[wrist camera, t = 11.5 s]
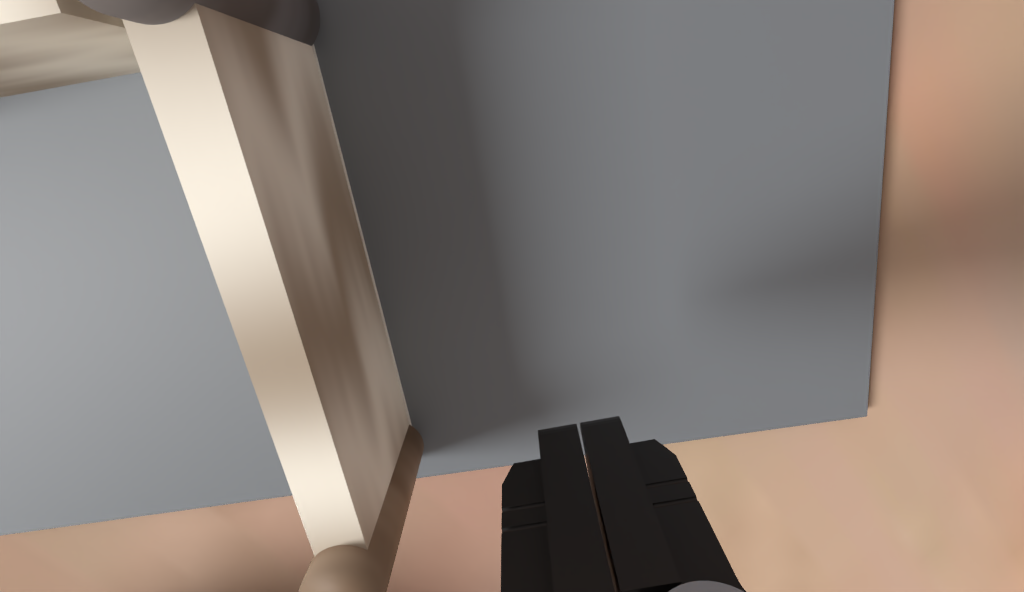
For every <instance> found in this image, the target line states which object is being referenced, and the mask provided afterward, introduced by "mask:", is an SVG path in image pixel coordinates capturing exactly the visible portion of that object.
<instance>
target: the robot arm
mask: <svg viewBox="0 0 1024 592" xmlns="http://www.w3.org/2000/svg"><path fill="white" fill-rule="evenodd" d="M580 428H581V434H582V440H583V446H584V451H585V457H586V463H587V467H586V463H585V458H584V454H583V450H582V445H581V441H580V436H579V432H578V428H577V424H570V425H565V426H559V427H553V428H547V429H542V430H538V439H539V449H540V459H536V460H530V461H524V462H518V463H514V464H513V466H512V467H511V469H510V471H509V473H508V475H507V477H506V479H505V480H504V482H503V484H502V542H501V592H746V591H745V590H744V589H743V587H742V586H741V584H740V583H739V581H738V579H737V577H736V575H735V573H734V571H733V569H732V567H731V565H730V563H729V561H728V559H727V557H726V555H725V553H724V551H723V549H722V547H721V545H720V543H719V541H718V539H717V537H716V535H715V533H714V531H713V529H712V527H711V525H710V523H709V521H708V519H707V517H706V515H705V513H704V511H703V509H702V507H701V505H700V503H699V501H697V498H696V495H695V493H694V491H693V489H692V487H691V485H690V483H689V482H688V481H687V477H686V475H685V473H684V471H683V469H682V467H681V465H680V463H679V461H678V459H677V457H676V455H675V454H673V453H672V452H671V451H670V450H668V449H667V448H666V447H664V446H663V445H662V444H661V443H659V442H658V441H657V440H655V439H652V440H646V441H640V442H634V443H629V440H628V437H627V435H626V432H625V429H624V427H623V424H622V421H621V419H620V417H619V416H616V417H610V418H604V419H598V420H593V421H587V422H581V423H580ZM587 468H588V472H587ZM588 474H589V476H588Z"/></svg>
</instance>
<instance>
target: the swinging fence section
mask: <svg viewBox="0 0 1024 592" xmlns="http://www.w3.org/2000/svg"><path fill="white" fill-rule="evenodd" d="M79 1H80V2H81V3H83V4H84V5H86V6H88V7H89V8H91V9H93V10H95V11H97V12H100V13H102V14H106V15H109V16H112V17H116V18H120V19H122V21H123V23H124V26H125V29H126V32H127V35H128V37H129V40H130V43H131V46H132V48H133V51H134V54H135V57H136V60H137V62H138V65H139V68H140V71H141V74H142V76H143V79H144V82H145V85H146V88H147V90H148V93H149V96H150V99H151V102H152V104H153V107H154V110H155V113H156V115H157V118H158V121H159V124H160V127H161V129H162V132H163V135H164V138H165V141H166V143H167V146H168V149H169V152H170V155H171V157H172V160H173V163H174V166H175V169H176V171H177V174H178V177H179V180H180V182H181V185H182V188H183V191H184V194H185V196H186V199H187V202H188V205H189V208H190V210H191V213H192V216H193V219H194V222H195V224H196V227H197V230H198V233H199V236H200V238H201V241H202V244H203V247H204V249H205V252H206V255H207V258H208V261H209V263H210V266H211V269H212V272H213V275H214V277H215V280H216V283H217V286H218V289H219V291H220V294H221V297H222V300H223V303H224V305H225V308H226V311H227V314H228V316H229V319H230V322H231V325H232V328H233V330H234V333H235V336H236V339H237V342H238V344H239V347H240V350H241V353H242V356H243V358H244V361H245V364H246V367H247V370H248V372H249V375H250V378H251V381H252V383H253V386H254V389H255V392H256V395H257V397H258V400H259V403H260V406H261V409H262V411H263V414H264V417H265V420H266V423H267V425H268V428H269V431H270V434H271V437H272V439H273V442H274V445H275V448H276V450H277V453H278V456H279V459H280V462H281V464H282V467H283V470H284V473H285V476H286V478H287V481H288V484H289V487H290V490H291V492H292V495H293V498H294V501H295V504H296V506H297V509H298V512H299V515H300V517H301V520H302V523H303V526H304V529H305V531H306V534H307V537H308V540H309V543H310V545H311V548H312V551H313V554H314V557H313V559H312V561H311V563H310V565H309V568H308V570H307V572H306V574H305V577H304V579H303V581H302V583H301V585H300V588H299V592H386V591H387V587H388V583H389V579H390V575H391V572H392V568H393V564H394V560H395V556H396V553H397V549H398V545H399V541H400V538H401V534H402V530H403V526H404V522H405V519H406V515H407V511H408V507H409V503H410V500H411V496H412V492H413V488H414V484H415V481H416V477H417V473H418V469H419V465H420V462H421V458H422V454H423V450H424V443H423V439H422V437H421V435H420V433H419V432H418V431H417V430H416V429H415V428H414V427H413V426H411V425H409V422H408V418H407V414H406V410H405V406H404V402H403V398H402V394H401V391H400V387H399V383H398V379H397V375H396V371H395V367H394V363H393V359H392V356H391V352H390V348H389V344H388V340H387V336H386V332H385V328H384V325H383V321H382V317H381V313H380V309H379V305H378V301H377V297H376V293H375V290H374V286H373V282H372V278H371V274H370V270H369V266H368V262H367V258H366V255H365V251H364V247H363V243H362V239H361V235H360V231H359V227H358V223H357V220H356V216H355V212H354V208H353V204H352V200H351V196H350V192H349V189H348V185H347V181H346V177H345V173H344V169H343V165H342V161H341V157H340V154H339V150H338V146H337V142H336V138H335V134H334V130H333V126H332V122H331V119H330V115H329V111H328V107H327V103H326V99H325V95H324V91H323V87H322V84H321V80H320V76H319V72H318V68H317V64H316V60H315V56H314V53H313V49H312V45H313V44H314V42H315V40H316V38H317V36H318V32H319V28H320V11H319V6H318V3H317V0H79Z"/></svg>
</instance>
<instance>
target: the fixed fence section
mask: <svg viewBox="0 0 1024 592" xmlns="http://www.w3.org/2000/svg"><path fill="white" fill-rule="evenodd" d="M138 72H141V71H140V68H139V65H138V62H137V60H136V57H135V54H134V51H133V48H132V46H131V43H130V40H129V37H128V35H127V32H126V29H125V26H124V23H123V21H122V19H120V18H116V17H112V16H109V15H106V14H102V13H100V12H97V11H95V10H93V9H91V8H89V7H88V6H86V5H84V4H83V3H81V2H80V1H79V0H0V97H6V96H11V95H17V94H22V93H28V92H33V91H39V90H44V89H50V88H55V87H61V86H67V85H72V84H78V83H83V82H89V81H94V80H100V79H105V78H111V77H116V76H122V75H127V74H133V73H138Z"/></svg>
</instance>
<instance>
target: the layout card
mask: <svg viewBox="0 0 1024 592" xmlns="http://www.w3.org/2000/svg"><path fill="white" fill-rule="evenodd" d="M317 3H318V6H319V11H320V28H319V32H318V36H317V38H316V40H315V42H314V44H313V45H312V49H313V53H314V56H315V60H316V64H317V68H318V72H319V76H320V80H321V84H322V87H323V91H324V95H325V99H326V103H327V107H328V111H329V115H330V119H331V122H332V126H333V130H334V134H335V138H336V142H337V146H338V150H339V154H340V157H341V161H342V165H343V169H344V173H345V177H346V181H347V185H348V189H349V192H350V196H351V200H352V204H353V208H354V212H355V216H356V220H357V223H358V227H359V231H360V235H361V239H362V243H363V247H364V251H365V255H366V258H367V262H368V266H369V270H370V274H371V278H372V282H373V286H374V290H375V293H376V297H377V301H378V305H379V309H380V313H381V317H382V321H383V325H384V328H385V332H386V336H387V340H388V344H389V348H390V352H391V356H392V359H393V363H394V367H395V371H396V375H397V379H398V383H399V387H400V391H401V394H402V398H403V402H404V406H405V410H406V414H407V418H408V422H409V425H411V426H413V427H414V428H415V429H416V430H417V431H418V432H419V433H420V435H421V437H422V439H423V443H424V450H423V454H422V458H421V462H420V465H419V469H418V473H417V477H416V478H422V477H429V476H436V475H444V474H451V473H458V472H465V471H473V470H480V469H487V468H495V467H502V466H509V465H513V464H514V463H518V462H524V461H530V460H536V459H540V449H539V439H538V430H542V429H547V428H553V427H559V426H565V425H570V424H577V428H578V432H579V436H580V441H581V445H582V450H583V454H584V455H585V451H584V446H583V440H582V434H581V428H580V423H581V422H587V421H593V420H598V419H604V418H610V417H616V416H619V417H620V419H621V421H622V424H623V427H624V429H625V432H626V435H627V437H628V440H629V443H634V442H640V441H646V440H652V439H655V440H657V441H658V442H659V443H661V444H669V443H676V442H684V441H691V440H698V439H705V438H713V437H720V436H727V435H735V434H742V433H749V432H756V431H764V430H771V429H778V428H785V427H793V426H800V425H807V424H815V423H822V422H829V421H836V420H844V419H851V418H858V417H865V416H867V409H868V393H869V378H870V363H871V348H872V333H873V317H874V302H875V287H876V272H877V257H878V241H879V226H880V211H881V196H882V181H883V165H884V150H885V135H886V120H887V105H888V89H889V74H890V59H891V44H892V29H893V13H894V0H317ZM291 495H292V492H291V490H290V487H289V484H288V481H287V478H286V476H285V473H284V470H283V467H282V464H281V462H280V459H279V456H278V453H277V450H276V448H275V445H274V442H273V439H272V437H271V434H270V431H269V428H268V425H267V423H266V420H265V417H264V414H263V411H262V409H261V406H260V403H259V400H258V397H257V395H256V392H255V389H254V386H253V383H252V381H251V378H250V375H249V372H248V370H247V367H246V364H245V361H244V358H243V356H242V353H241V350H240V347H239V344H238V342H237V339H236V336H235V333H234V330H233V328H232V325H231V322H230V319H229V316H228V314H227V311H226V308H225V305H224V303H223V300H222V297H221V294H220V291H219V289H218V286H217V283H216V280H215V277H214V275H213V272H212V269H211V266H210V263H209V261H208V258H207V255H206V252H205V249H204V247H203V244H202V241H201V238H200V236H199V233H198V230H197V227H196V224H195V222H194V219H193V216H192V213H191V210H190V208H189V205H188V202H187V199H186V196H185V194H184V191H183V188H182V185H181V182H180V180H179V177H178V174H177V171H176V169H175V166H174V163H173V160H172V157H171V155H170V152H169V149H168V146H167V143H166V141H165V138H164V135H163V132H162V129H161V127H160V124H159V121H158V118H157V115H156V113H155V110H154V107H153V104H152V102H151V99H150V96H149V93H148V90H147V88H146V85H145V82H144V79H143V76H142V74H141V72H138V73H133V74H127V75H122V76H116V77H111V78H105V79H100V80H94V81H89V82H83V83H78V84H72V85H67V86H61V87H55V88H50V89H44V90H39V91H33V92H28V93H22V94H17V95H11V96H6V97H0V535H7V534H14V533H22V532H29V531H36V530H44V529H51V528H58V527H65V526H73V525H80V524H87V523H95V522H102V521H109V520H116V519H124V518H131V517H138V516H145V515H153V514H160V513H167V512H175V511H182V510H189V509H196V508H204V507H211V506H218V505H225V504H233V503H240V502H247V501H255V500H262V499H269V498H276V497H284V496H291Z"/></svg>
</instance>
